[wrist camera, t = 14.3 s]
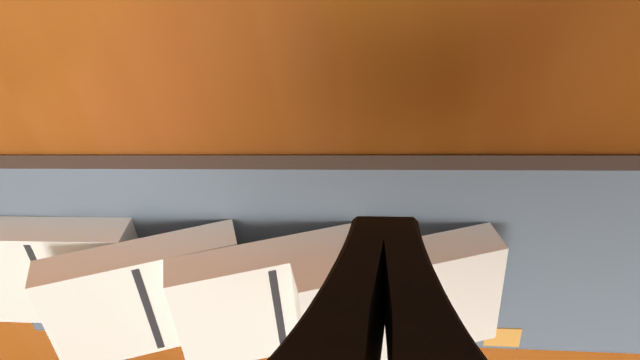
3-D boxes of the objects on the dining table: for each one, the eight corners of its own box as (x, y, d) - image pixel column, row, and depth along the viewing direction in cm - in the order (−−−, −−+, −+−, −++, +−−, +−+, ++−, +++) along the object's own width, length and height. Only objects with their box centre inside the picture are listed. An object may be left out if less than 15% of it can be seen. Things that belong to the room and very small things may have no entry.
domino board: (721, 155, 22) (734, 172, 21) (654, 336, 28) (661, 355, 27) (-33, 155, 26) (-48, 169, 25) (44, 315, 32) (34, 331, 31)
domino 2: (374, 246, 23) (163, 288, 22) (376, 333, 26) (189, 374, 25) (363, 220, 25) (163, 258, 24) (366, 306, 28) (188, 343, 27)
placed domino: (509, 248, 23) (298, 293, 22) (495, 337, 26) (309, 381, 24) (489, 221, 24) (290, 262, 23) (478, 309, 27) (301, 349, 26)
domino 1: (237, 243, 24) (24, 289, 23) (253, 329, 27) (66, 373, 26) (231, 218, 25) (30, 260, 24) (248, 302, 28) (69, 344, 27)
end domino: (117, 242, 25) (-65, 240, 26) (146, 326, 27) (-18, 321, 28) (131, 217, 26) (-42, 215, 27) (158, 299, 29) (0, 295, 30)
